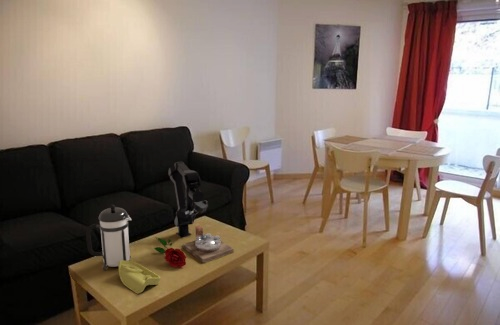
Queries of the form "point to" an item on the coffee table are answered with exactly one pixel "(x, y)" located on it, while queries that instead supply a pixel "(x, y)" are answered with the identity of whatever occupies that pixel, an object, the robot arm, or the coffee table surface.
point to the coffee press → (112, 236)
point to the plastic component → (136, 276)
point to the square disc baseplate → (208, 255)
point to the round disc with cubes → (206, 241)
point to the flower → (172, 254)
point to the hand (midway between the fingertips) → (191, 224)
